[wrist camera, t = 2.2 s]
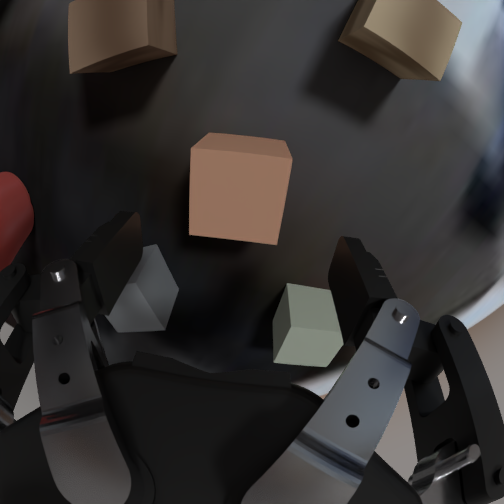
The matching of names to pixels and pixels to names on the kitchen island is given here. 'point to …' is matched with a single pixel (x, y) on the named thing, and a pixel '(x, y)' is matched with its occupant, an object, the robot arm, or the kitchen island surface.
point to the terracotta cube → (238, 187)
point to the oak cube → (403, 36)
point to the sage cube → (306, 327)
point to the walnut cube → (119, 33)
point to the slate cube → (146, 296)
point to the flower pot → (13, 217)
